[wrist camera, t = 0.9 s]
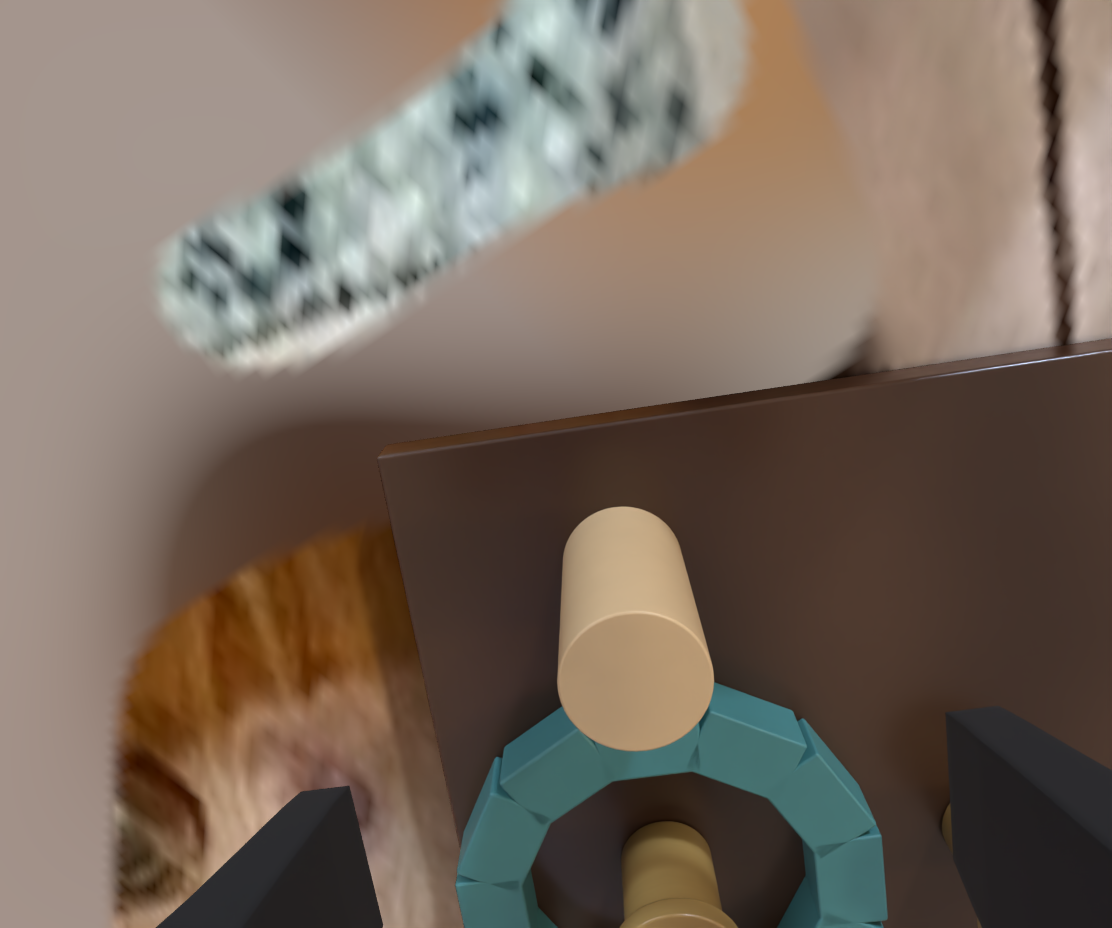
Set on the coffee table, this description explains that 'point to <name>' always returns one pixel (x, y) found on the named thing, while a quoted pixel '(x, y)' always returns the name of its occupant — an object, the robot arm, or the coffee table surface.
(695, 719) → the ring
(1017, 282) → the coffee table surface
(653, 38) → the coffee table surface
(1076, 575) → the rack
